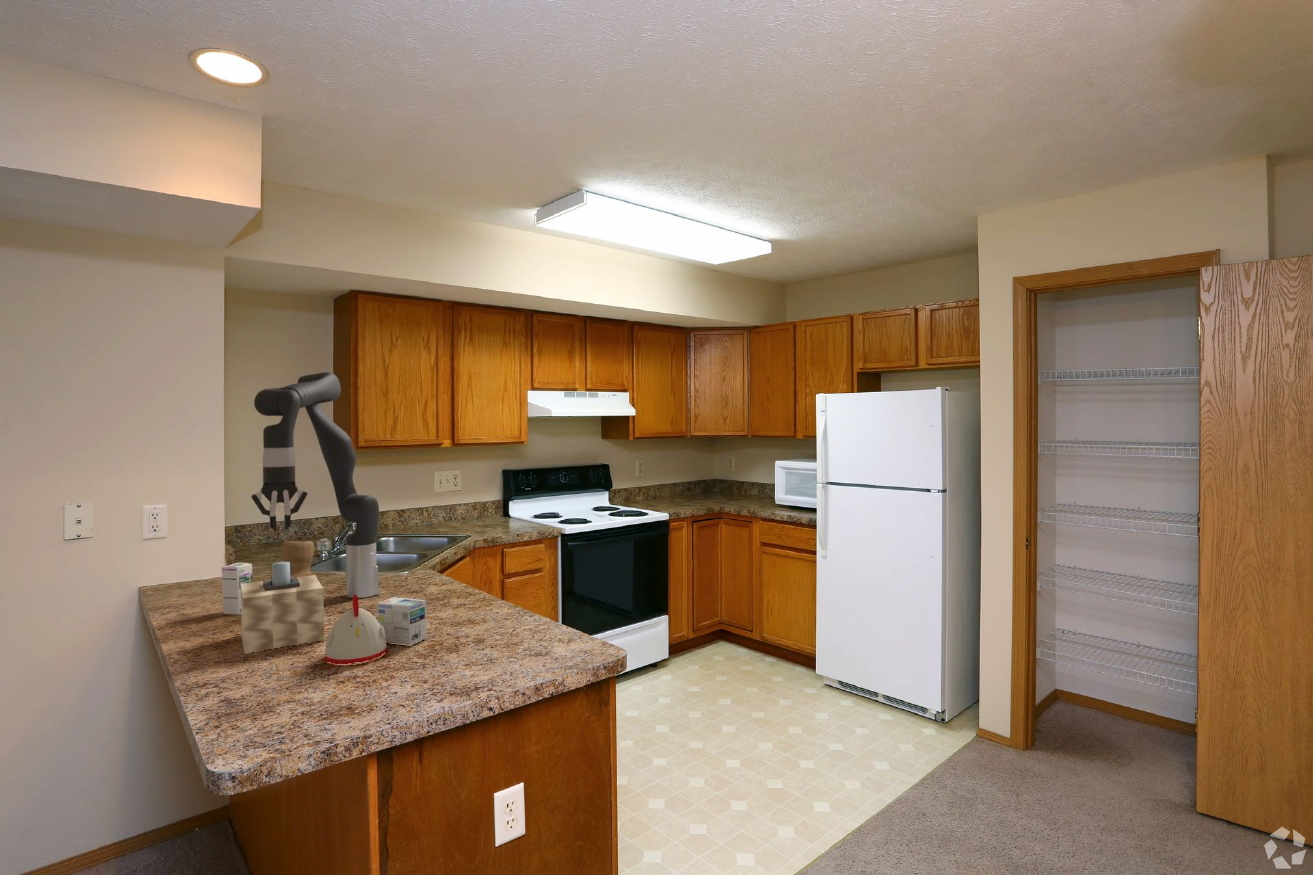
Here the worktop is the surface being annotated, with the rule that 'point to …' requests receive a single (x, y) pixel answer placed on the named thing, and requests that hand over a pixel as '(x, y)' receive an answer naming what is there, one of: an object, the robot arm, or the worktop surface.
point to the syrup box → (234, 585)
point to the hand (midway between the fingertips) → (280, 529)
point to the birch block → (281, 615)
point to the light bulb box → (403, 620)
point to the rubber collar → (292, 584)
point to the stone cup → (298, 557)
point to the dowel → (280, 573)
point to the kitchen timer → (355, 637)
